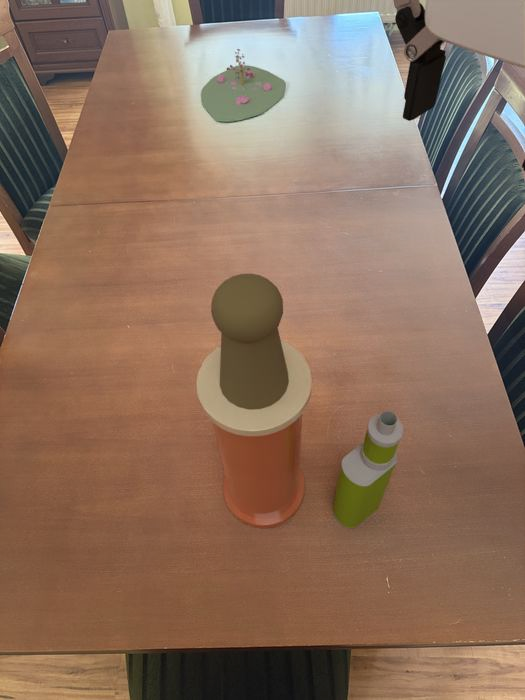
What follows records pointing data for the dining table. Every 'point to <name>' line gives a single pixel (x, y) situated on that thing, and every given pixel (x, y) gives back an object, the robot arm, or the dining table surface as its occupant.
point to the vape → (367, 471)
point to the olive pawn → (250, 341)
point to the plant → (241, 92)
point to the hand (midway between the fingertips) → (474, 136)
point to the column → (259, 444)
